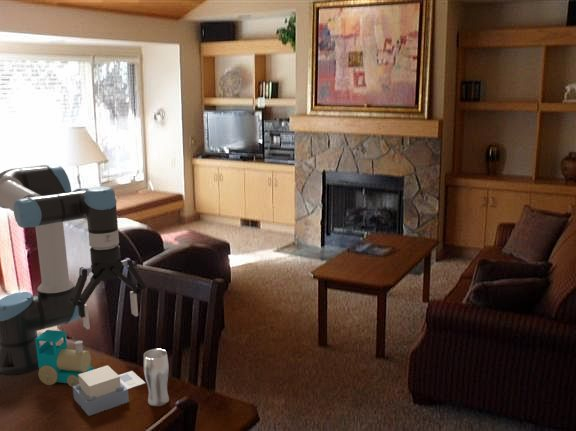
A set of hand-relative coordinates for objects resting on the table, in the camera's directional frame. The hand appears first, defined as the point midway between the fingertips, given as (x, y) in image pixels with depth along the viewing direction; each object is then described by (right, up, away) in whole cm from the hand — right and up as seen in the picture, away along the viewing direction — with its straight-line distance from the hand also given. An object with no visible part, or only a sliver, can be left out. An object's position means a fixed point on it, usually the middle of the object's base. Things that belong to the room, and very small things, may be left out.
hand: (111, 321), depth 168 cm
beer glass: (+10, -26, +13) cm, 31 cm away
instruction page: (-2, -23, +25) cm, 34 cm away
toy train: (-20, -23, +26) cm, 40 cm away
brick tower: (-7, -26, +14) cm, 30 cm away
